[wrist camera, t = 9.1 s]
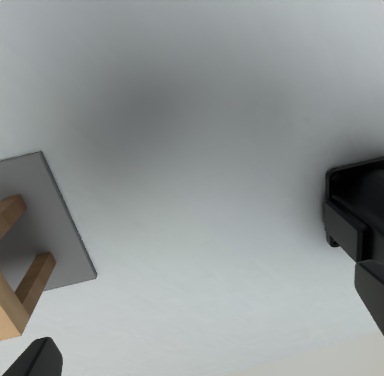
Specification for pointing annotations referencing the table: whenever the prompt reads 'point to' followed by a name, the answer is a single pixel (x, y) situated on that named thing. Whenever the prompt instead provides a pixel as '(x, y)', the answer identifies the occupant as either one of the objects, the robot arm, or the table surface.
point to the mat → (40, 226)
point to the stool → (31, 283)
